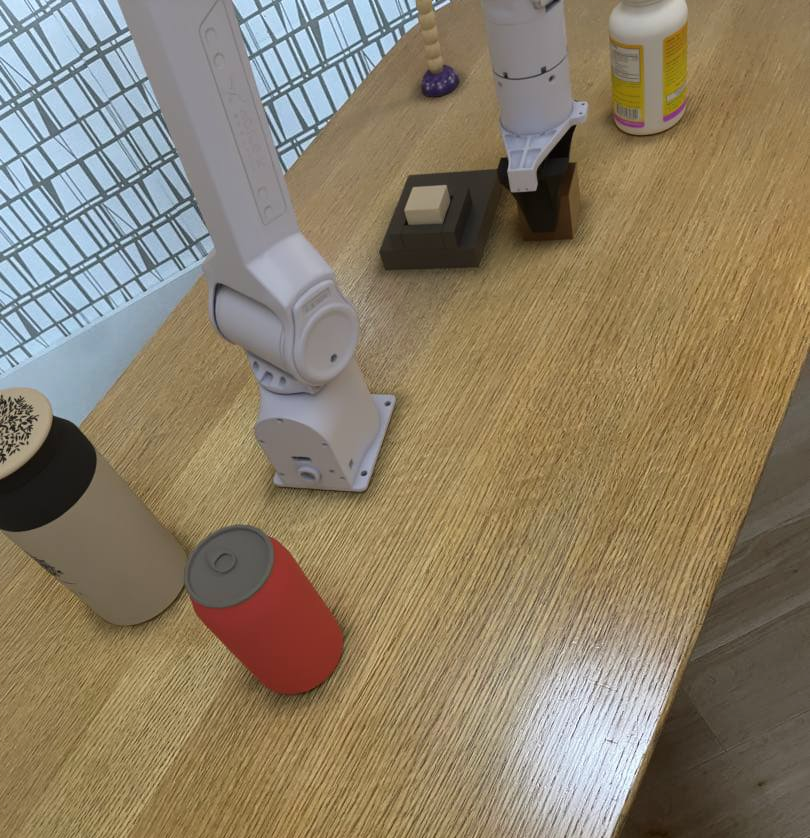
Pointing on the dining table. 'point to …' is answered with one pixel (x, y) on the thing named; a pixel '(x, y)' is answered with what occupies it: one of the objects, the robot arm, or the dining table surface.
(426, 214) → the key
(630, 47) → the supplement bottle
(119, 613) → the travel mug
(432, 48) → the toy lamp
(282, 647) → the beer can
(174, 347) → the dining table surface
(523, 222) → the walnut block
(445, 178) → the button base
